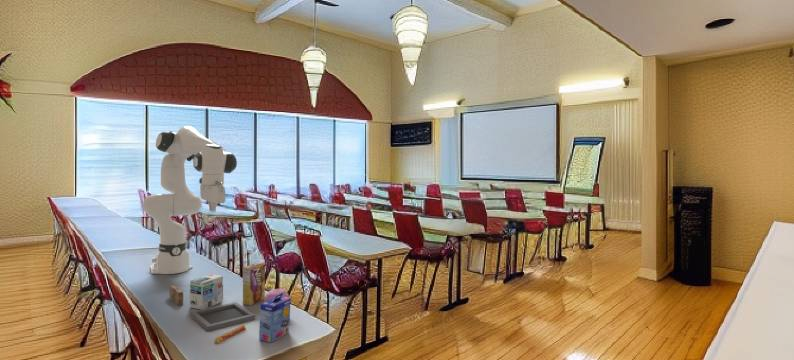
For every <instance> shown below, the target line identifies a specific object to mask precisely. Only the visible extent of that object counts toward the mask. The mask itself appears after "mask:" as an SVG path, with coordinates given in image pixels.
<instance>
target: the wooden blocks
mask: <svg viewBox="0 0 794 360" xmlns="http://www.w3.org/2000/svg"><path fill="white" fill-rule="evenodd" d="M223 296H224V284H223V285H222V298H223ZM169 298H170V299H171V300H172V301H173V302H174V303H176V305H177V306H183V305H184V291H182V290H181V289H180V288H178V287H177V285H174V284H171V285H169Z"/></svg>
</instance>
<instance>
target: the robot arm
mask: <svg viewBox="0 0 794 360" xmlns="http://www.w3.org/2000/svg"><path fill="white" fill-rule="evenodd" d="M155 146H156V149H157V150H158V151H160V152H162V153H167V154H165V155H163V158H162V161H161V165H160V166H161V167H160V186H161V188H163V189H164V190H165V191H167V192H169V193H156V194H151V195H148V196H147V197H145V199H144V201H143V203H142V209H143V211H144V212H145V213H146V215H147V216H149V217H150V218H152V219H153V220H154V221H155V223H156V224H157V226H158V228H159V238H160V239H159V242H160V243H159V245H158V252H157V254H155V256H154V257H152V258H151V263H152V264H150V266H149V268H150V274H151V275H157V274H159V275H174V274H181V273H184V272H187V271H189V270H190V269H193V265H191V264H190V253H189V251H187V242H186V227H185V226H184V225H183V224H182V223H179V222H177V221H175V220H173V219H172V217H176V216H191V215H196V214H198V213H199V212H200V211H201V209H202V205H203V204H202V201H207V204H208V208H209V212H212V213H215V212H217V206H218V204H226V189H225V186H224V185H225V183H224V182H225V174H230V173H233V171H234V170H236V168H237V165H238V163H237V162H238V161H237V158H236V156H235V155H234V154H233V152H229V151H227V150H226V149H225V148H224V147H223V146H221V145H220V144H218V143H216V142H215V141H214V140H213V141H212V140H211V139H209V138H207V137H205V136H204V135H203V134H202V133H201V132H200V131H199V130H198V129H196V128H195V127H193V126H189V125H185V126H182V127H181V128H180V129H179V130H178V131H177V132H173V131H172V130H169V131H162V132H160V133H159V134H158V135H157V137H156V139H155ZM192 160H193V165H192V166H193V168H194V170H196V171H197V172H199V173H202V176H201V177H200V178H199V179H198V181H199V182H198V183H199V184H200V185H199V187H200V189H199V192H200V193H199V195H200V196H198V195H197V194H195V193H193V192H192V191H191V190H190V189H189V188H188V186H187V183H186V174H185V173H186V172H185V171H186V169H185V163H186V161H188V162H191V161H192Z"/></svg>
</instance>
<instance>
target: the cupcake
mask: <svg viewBox="0 0 794 360" xmlns="http://www.w3.org/2000/svg"><path fill="white" fill-rule="evenodd" d="M281 293H283V295H282V296H284V297H288V298H290V296H289V293H288V292H287V291H286V289H283V288H274V289H271V290H269V291H267V293H265V299H263V301H264V302H265V301H267V300H270V299H272V298H274V297H276V296H277V295H279V294H281Z"/></svg>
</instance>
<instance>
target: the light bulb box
mask: <svg viewBox="0 0 794 360" xmlns="http://www.w3.org/2000/svg"><path fill="white" fill-rule="evenodd" d="M223 279H224V277H223V275H217V274H212V273H209V274H206V275H203V276H201V277H198V278H194V279H191V280H189V281H190V285H189V286H190V288H189V289H190V292H189V308H193V309H197V310H203V309H207V308H212V307H214V306H215V305H217V304H220V303H223V297H222V285H223V286H224V283H223V282H224V281H223Z"/></svg>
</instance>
